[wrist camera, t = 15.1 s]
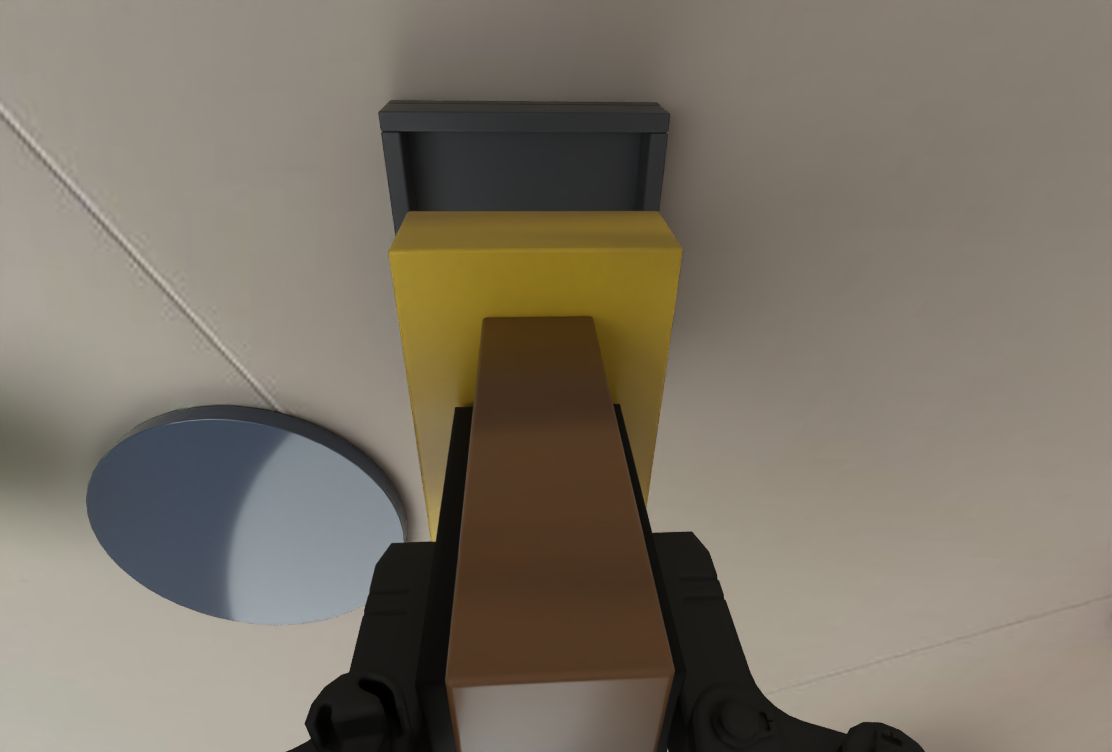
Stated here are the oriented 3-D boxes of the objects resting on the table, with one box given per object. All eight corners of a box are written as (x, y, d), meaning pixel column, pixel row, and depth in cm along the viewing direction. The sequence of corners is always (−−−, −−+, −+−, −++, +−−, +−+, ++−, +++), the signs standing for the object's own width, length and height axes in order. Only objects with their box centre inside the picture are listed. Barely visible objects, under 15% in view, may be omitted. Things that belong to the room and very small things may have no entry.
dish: (389, 100, 20) (377, 111, 18) (657, 102, 20) (670, 113, 19) (427, 393, 27) (421, 422, 25) (628, 389, 27) (636, 417, 25)
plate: (40, 409, 26) (25, 423, 25) (386, 401, 27) (381, 414, 26) (161, 615, 34) (152, 631, 33) (422, 604, 35) (419, 619, 34)
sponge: (406, 209, 14) (215, 598, 5) (659, 209, 14) (894, 572, 5) (441, 489, 19) (375, 931, 10) (628, 484, 19) (723, 907, 10)
